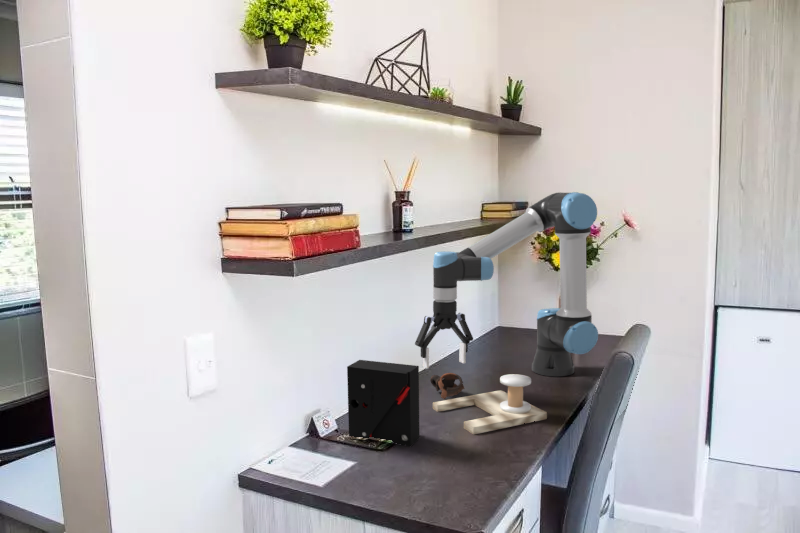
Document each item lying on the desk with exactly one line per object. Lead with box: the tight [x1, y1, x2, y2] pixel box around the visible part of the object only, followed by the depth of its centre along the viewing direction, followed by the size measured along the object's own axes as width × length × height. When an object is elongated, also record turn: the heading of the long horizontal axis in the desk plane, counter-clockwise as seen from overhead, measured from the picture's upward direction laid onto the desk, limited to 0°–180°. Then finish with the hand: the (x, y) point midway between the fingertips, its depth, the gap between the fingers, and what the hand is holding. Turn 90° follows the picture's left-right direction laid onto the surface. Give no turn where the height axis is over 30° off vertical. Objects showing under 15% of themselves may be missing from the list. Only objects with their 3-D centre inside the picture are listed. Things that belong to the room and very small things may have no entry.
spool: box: [499, 373, 532, 414], centre depth 185 cm, size 9×9×9 cm
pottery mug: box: [429, 372, 465, 400], centre depth 205 cm, size 12×10×8 cm
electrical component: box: [346, 359, 420, 447], centre depth 169 cm, size 18×10×20 cm, turn 66°
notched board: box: [432, 389, 548, 435], centre depth 187 cm, size 25×23×2 cm
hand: (444, 365), depth 204 cm, fingers open, 13 cm apart
